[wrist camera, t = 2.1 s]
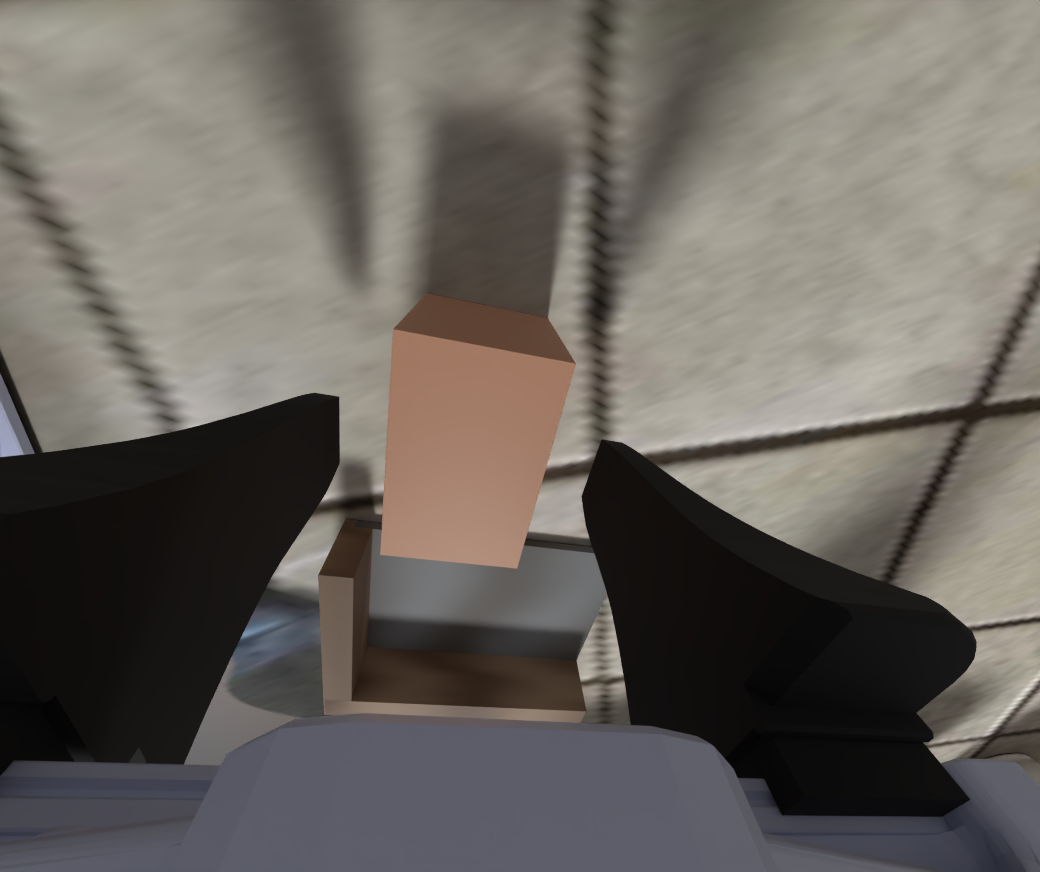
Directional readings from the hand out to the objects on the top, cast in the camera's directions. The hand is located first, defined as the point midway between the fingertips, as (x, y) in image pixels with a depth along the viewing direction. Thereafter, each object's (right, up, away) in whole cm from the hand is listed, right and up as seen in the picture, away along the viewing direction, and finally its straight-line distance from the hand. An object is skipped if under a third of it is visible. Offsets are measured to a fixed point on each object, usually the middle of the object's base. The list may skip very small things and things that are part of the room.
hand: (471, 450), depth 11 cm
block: (0, +2, +3) cm, 4 cm away
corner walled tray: (-1, -8, +8) cm, 11 cm away
